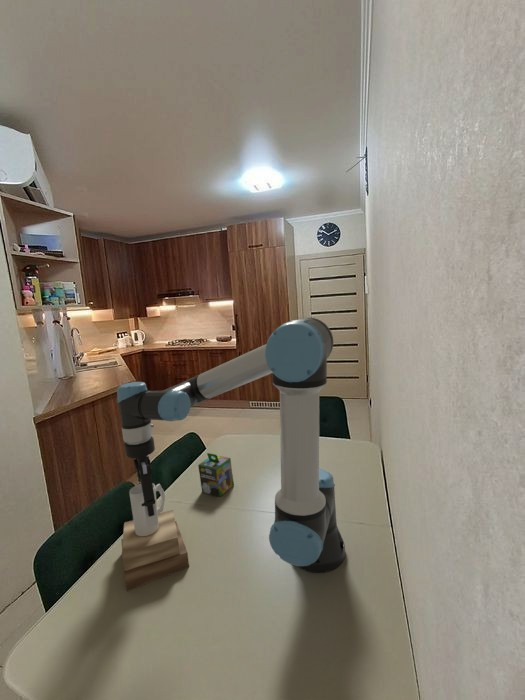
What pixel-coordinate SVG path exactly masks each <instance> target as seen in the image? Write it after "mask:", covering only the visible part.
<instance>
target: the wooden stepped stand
mask: <svg viewBox="0 0 525 700" xmlns="http://www.w3.org/2000/svg"><path fill="white" fill-rule="evenodd" d="M175 524H176V530H177V536H178V543H179V551H180V554H178V555H175V556H172V557H169V558H165V559H162V560H159V561H156V562H152V563H149V564H146V565H143V566H139V567H136V568H133V569H130V570H126V571H124V570H123V575H124V582H125V588H126V589H125V590H126V592H128V591H130V590H133V589H136V588H138V587H141V586H143V585H146V584H149V583H151V582H153V581H156V580H158V579H162V578H164V577H166V576H168V575H169V576H170V575H171V574H174V573H177V572H180V571H181V570H184V569H186V568H189V567H190V562H189V556H188V550H187V547H186V544H185V541H184V539H183V536H182V533H181V531H180V528H179V525H178V523H177V520H175ZM120 542H121V546H122V545H123V538H121V541H120ZM122 565H123V564H122ZM123 567H124V565H123Z"/></svg>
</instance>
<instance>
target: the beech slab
mask: <svg viewBox="0 0 525 700" xmlns="http://www.w3.org/2000/svg"><path fill="white" fill-rule="evenodd" d="M175 521H176V520H175V511H174V509H169V510H167V511H162V512H160V513H159V514H158V522H159V528H158V529H157V531H156V532H154V533H153V534H150V535H147V536H138V535H136V533H135V527H134V520H133V519H132V520H129V521H125V522H124V524H123V533H122V539H123V545H122V544H121V558H122V565H124V566H123V572H124V571H126V570H130V569H133V568H136V567H139V566H143V565H146V564H149V563H152V562H156V561H159V560H162V559H165V558H169V557H172V556H175V555H178V554H180V551H179V543H178V536H177V530H176V524H175Z"/></svg>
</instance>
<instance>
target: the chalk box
mask: <svg viewBox="0 0 525 700" xmlns="http://www.w3.org/2000/svg"><path fill="white" fill-rule="evenodd" d="M206 455H207V457H208V458H205V459H204V460H203V461H201V462H200V463H198V472H199V480H200V487H201V492H202V493H205V494H208V495H211V496H215V497H217V498H221V496H223V495H224V494H226V493H227V492H228V491H229V490H230V489H231V488H233V487H234V486H235V483H234V476H233V474H234V473H233V468H232V461H231V457H227V456H222V455H217V454H215V453H210V452H207V454H206Z"/></svg>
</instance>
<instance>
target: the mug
mask: <svg viewBox="0 0 525 700" xmlns="http://www.w3.org/2000/svg"><path fill="white" fill-rule="evenodd" d="M152 486H153V492H154V497H155V500H156V503H155V506H156V514H157V521H158V514H159V513H163V512H164V505H165V500H166V499H165V498H166V495H165V491H164V489H163V488H162V485H161V484H160V483H157V484H156V485H155V483H153V482H152ZM128 492H129V498H130V499H129V500H130V505H131V506H130V507H131V512H132V521H133V520H134V527H135V533H136V535H138V536H147V535H150V534H153V533H154V532H156V531H157V529H158V528H159V522H158V524H157V525H154V526H152V527H149V528H147V523H146V516H145V509H144V506H142V503H144V497H143V492H142V486H141V484H139V483H138V484H136V485H134V486H133V487H131V488H130V489H129V491H128ZM157 492H158V493H159V494H160V503H159V506H158V503H157Z"/></svg>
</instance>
